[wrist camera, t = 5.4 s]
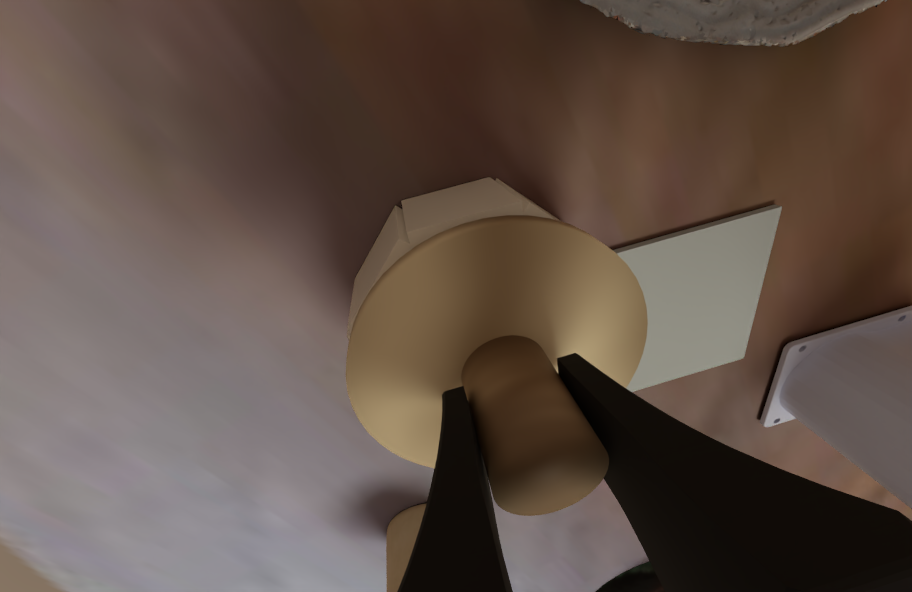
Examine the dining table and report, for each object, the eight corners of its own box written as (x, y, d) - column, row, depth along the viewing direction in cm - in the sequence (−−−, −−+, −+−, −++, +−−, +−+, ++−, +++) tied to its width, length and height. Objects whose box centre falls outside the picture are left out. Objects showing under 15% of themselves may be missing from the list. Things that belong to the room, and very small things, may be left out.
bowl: (560, 157, 15) (612, 176, 12) (572, 341, 20) (611, 392, 17) (327, 220, 15) (310, 258, 11) (399, 392, 20) (402, 455, 16)
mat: (774, 204, 18) (782, 206, 18) (738, 354, 23) (743, 358, 23) (586, 257, 18) (590, 260, 17) (591, 398, 23) (594, 403, 22)
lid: (631, 167, 10) (794, 216, 6) (635, 406, 16) (724, 516, 12) (287, 281, 10) (224, 408, 6) (408, 483, 16) (418, 623, 11)
